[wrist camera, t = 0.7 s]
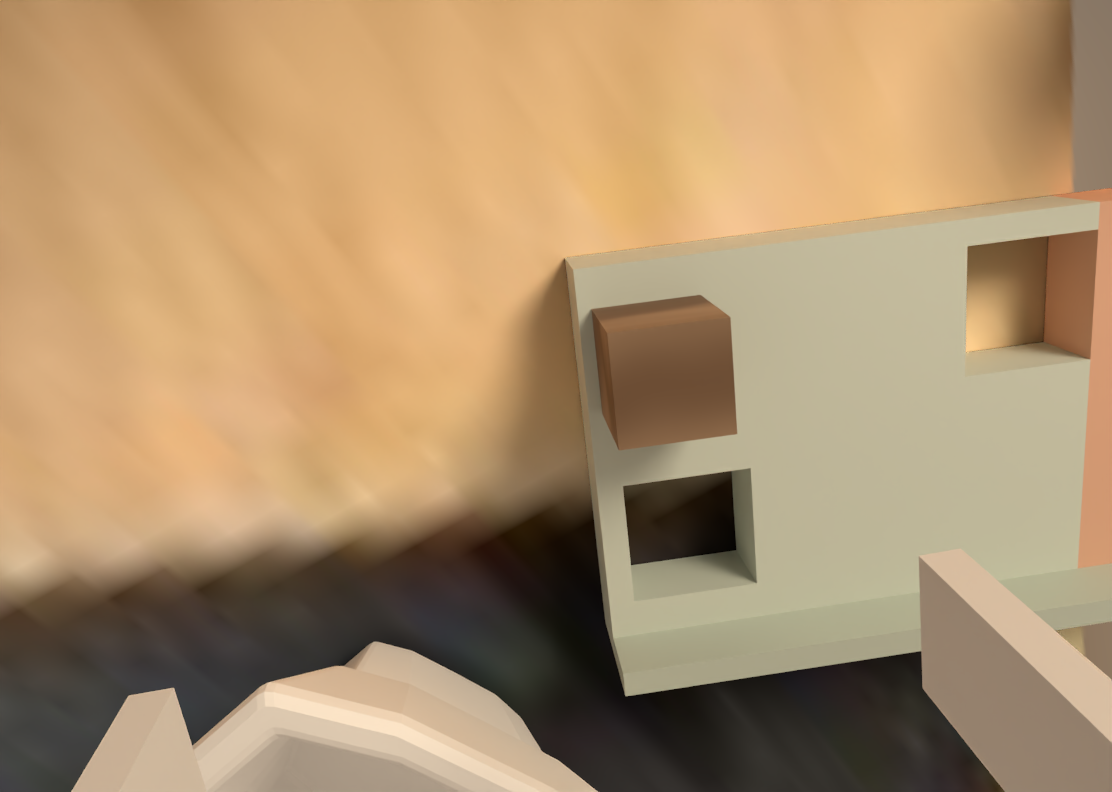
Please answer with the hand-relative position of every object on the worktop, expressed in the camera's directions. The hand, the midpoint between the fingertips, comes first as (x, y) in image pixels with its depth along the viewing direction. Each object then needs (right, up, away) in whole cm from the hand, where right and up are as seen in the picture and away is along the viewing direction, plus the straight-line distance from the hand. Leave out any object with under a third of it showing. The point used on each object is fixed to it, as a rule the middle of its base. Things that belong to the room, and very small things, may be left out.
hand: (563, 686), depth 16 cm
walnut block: (+3, +7, +18) cm, 19 cm away
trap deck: (+14, +5, +22) cm, 27 cm away
